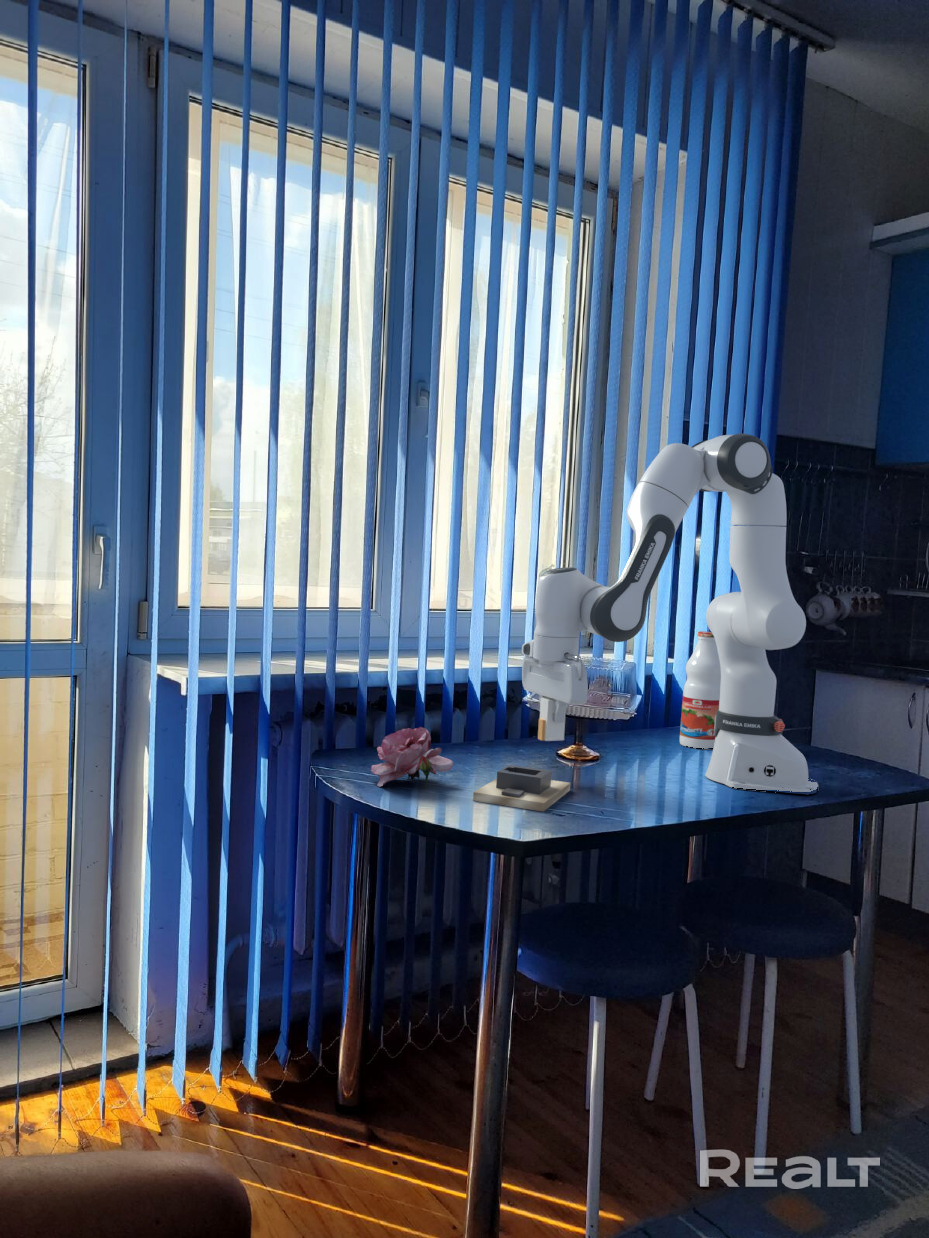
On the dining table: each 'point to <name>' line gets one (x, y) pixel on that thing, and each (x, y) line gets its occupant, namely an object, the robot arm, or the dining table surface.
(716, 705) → the fruit juice
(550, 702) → the plug
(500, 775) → the box
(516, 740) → the dining table surface
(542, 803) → the board
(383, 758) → the flower
